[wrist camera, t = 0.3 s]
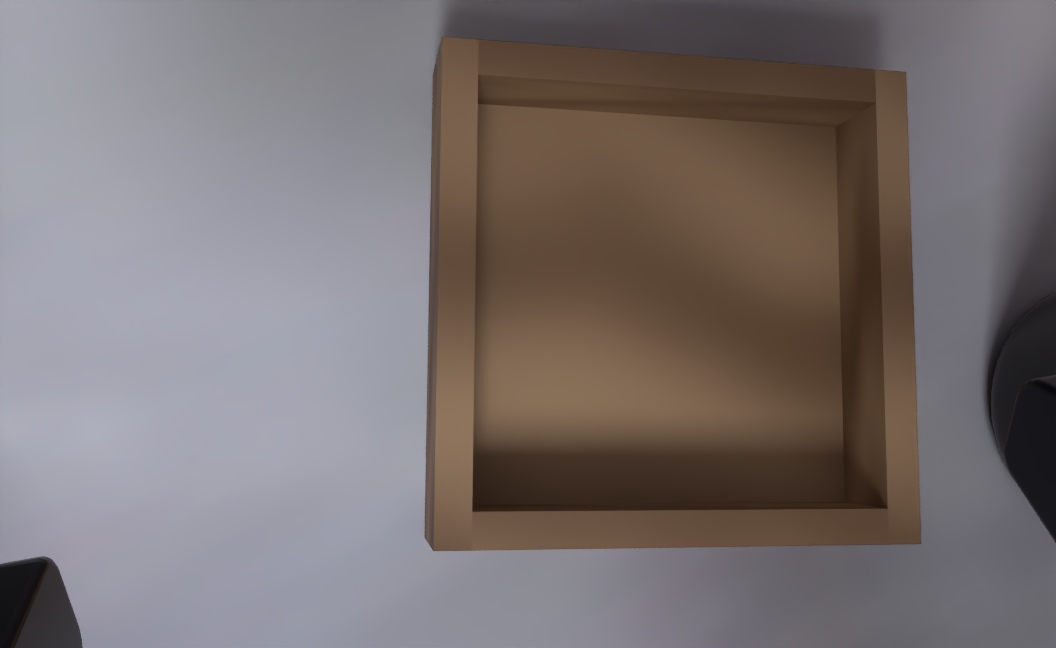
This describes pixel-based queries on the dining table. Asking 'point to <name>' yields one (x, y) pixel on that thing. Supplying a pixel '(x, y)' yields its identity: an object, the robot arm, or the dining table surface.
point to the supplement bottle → (1023, 363)
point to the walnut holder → (667, 302)
